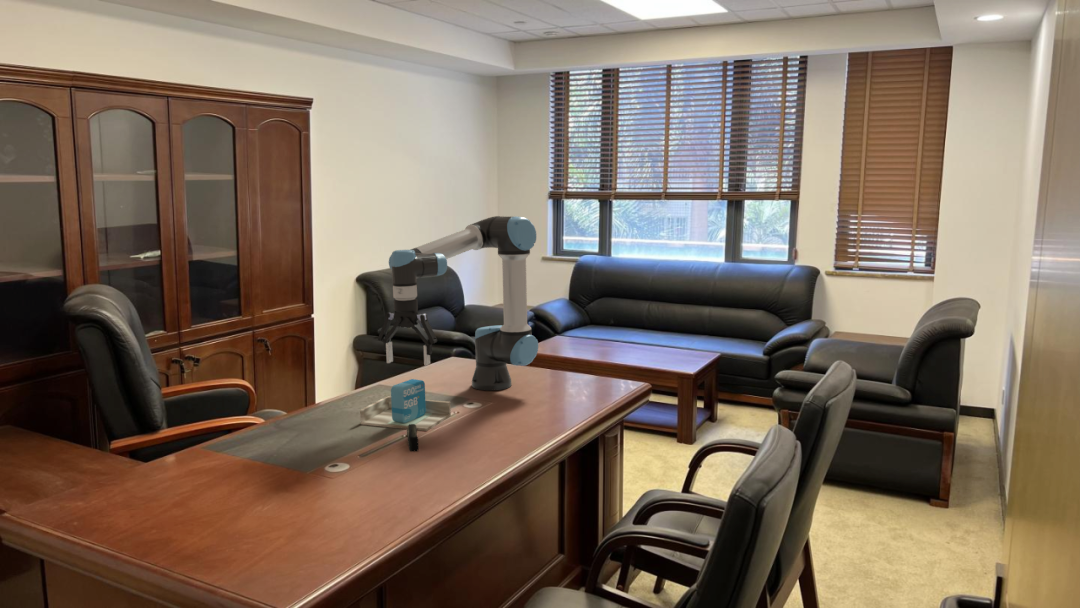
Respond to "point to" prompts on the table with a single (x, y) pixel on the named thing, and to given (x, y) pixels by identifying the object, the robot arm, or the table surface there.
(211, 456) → the table surface
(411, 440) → the mobile phone
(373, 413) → the tray
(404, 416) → the data package
